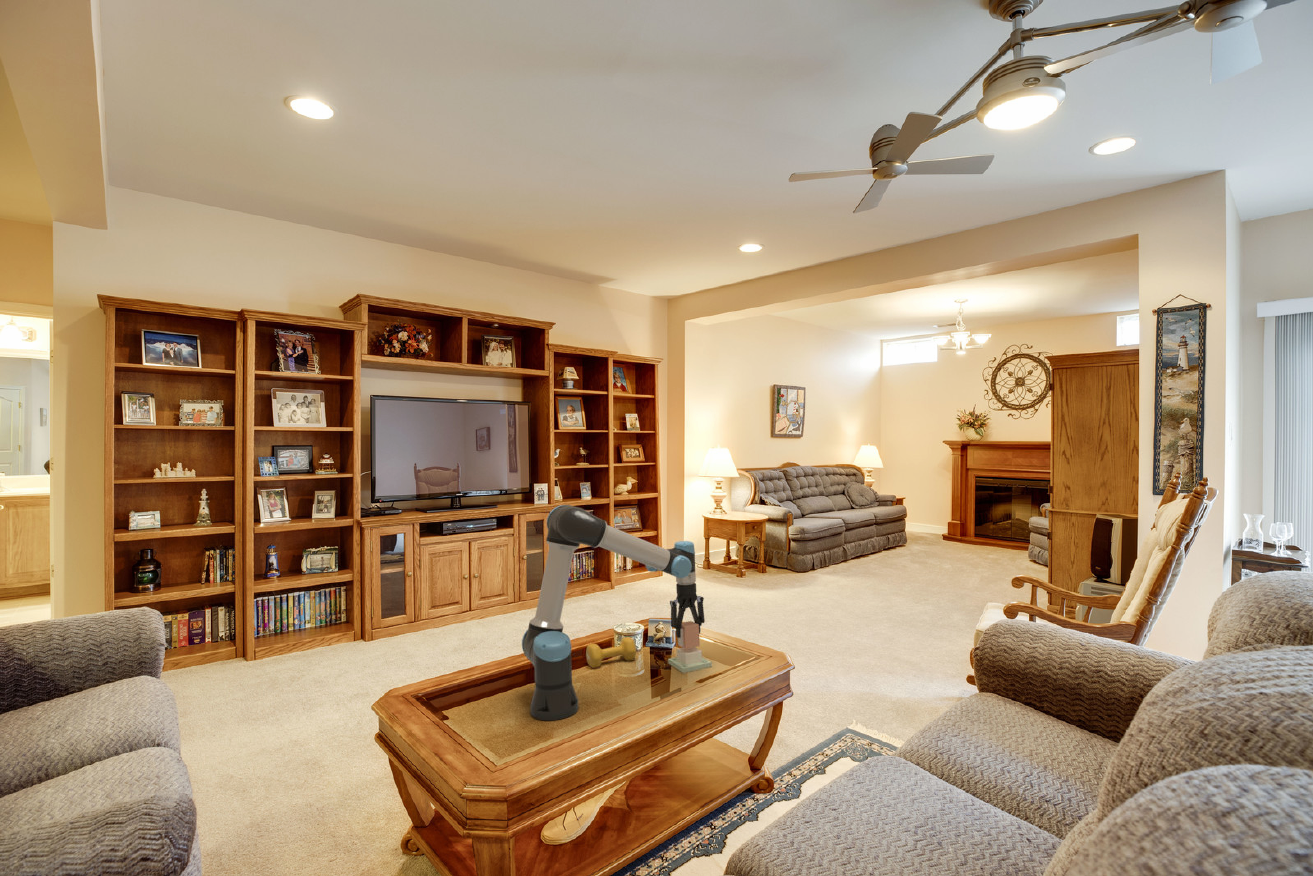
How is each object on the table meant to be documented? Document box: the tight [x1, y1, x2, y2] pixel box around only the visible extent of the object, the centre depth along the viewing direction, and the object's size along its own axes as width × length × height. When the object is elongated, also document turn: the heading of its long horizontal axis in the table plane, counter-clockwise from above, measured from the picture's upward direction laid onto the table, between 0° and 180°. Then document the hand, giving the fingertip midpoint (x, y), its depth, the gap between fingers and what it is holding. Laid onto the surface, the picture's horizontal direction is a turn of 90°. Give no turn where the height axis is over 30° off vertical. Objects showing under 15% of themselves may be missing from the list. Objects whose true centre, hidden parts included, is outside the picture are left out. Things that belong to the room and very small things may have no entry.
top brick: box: [681, 620, 701, 649], centre depth 228 cm, size 6×6×8 cm
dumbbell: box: [585, 636, 637, 669], centre depth 234 cm, size 19×9×8 cm, turn 116°
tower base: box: [667, 647, 712, 674], centre depth 228 cm, size 12×12×6 cm
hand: (688, 644), depth 228 cm, fingers closed on top brick, 6 cm apart
